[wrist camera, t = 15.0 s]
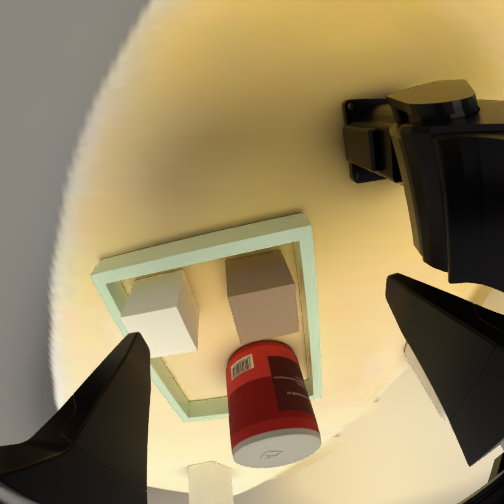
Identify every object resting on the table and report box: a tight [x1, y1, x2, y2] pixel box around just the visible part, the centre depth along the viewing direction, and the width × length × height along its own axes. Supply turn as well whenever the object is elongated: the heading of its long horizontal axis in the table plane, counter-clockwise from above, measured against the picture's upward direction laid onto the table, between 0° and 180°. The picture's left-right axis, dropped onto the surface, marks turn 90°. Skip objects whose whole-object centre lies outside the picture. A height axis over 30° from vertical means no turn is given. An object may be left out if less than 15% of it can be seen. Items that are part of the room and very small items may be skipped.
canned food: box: [226, 341, 321, 468], centre depth 24 cm, size 8×8×11 cm
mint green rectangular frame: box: [90, 213, 322, 422], centre depth 26 cm, size 17×22×2 cm
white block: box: [120, 270, 199, 358], centre depth 22 cm, size 4×4×5 cm
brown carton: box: [225, 250, 299, 344], centre depth 22 cm, size 4×4×5 cm
